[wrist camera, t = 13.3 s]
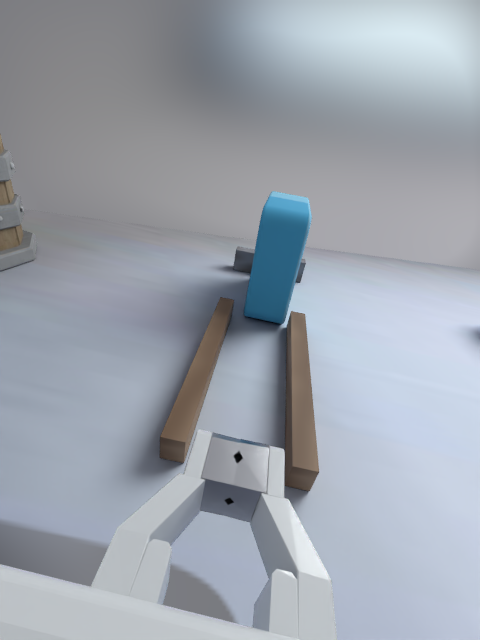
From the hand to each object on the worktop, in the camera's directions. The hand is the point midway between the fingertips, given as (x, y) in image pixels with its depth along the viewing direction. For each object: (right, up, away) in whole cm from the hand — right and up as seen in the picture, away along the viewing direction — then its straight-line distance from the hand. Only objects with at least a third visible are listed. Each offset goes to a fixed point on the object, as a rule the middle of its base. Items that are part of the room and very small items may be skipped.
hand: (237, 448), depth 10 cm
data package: (+3, +7, +28) cm, 29 cm away
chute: (+2, +3, +22) cm, 22 cm away
